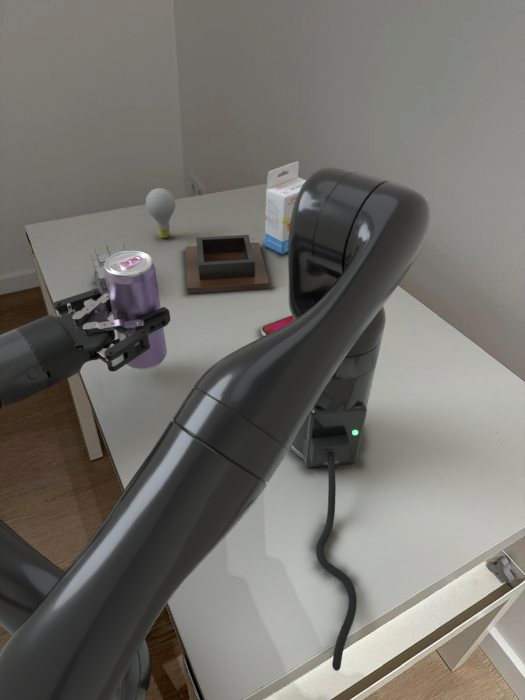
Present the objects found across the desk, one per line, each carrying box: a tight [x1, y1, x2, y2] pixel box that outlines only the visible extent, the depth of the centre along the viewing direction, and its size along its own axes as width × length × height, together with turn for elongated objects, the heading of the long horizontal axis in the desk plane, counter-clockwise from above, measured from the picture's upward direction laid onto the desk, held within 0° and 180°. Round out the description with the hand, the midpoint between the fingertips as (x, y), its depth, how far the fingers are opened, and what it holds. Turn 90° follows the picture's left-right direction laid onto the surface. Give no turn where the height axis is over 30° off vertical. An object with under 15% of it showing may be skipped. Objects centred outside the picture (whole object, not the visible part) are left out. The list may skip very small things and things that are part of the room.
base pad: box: [184, 234, 270, 295], centre depth 92 cm, size 14×14×4 cm
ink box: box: [264, 160, 307, 256], centre depth 96 cm, size 8×5×15 cm, turn 134°
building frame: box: [90, 241, 128, 294], centre depth 87 cm, size 6×8×6 cm
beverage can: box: [103, 250, 168, 371], centre depth 66 cm, size 6×6×15 cm
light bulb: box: [145, 187, 176, 239], centre depth 99 cm, size 6×6×10 cm
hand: (153, 302), depth 67 cm, fingers closed on beverage can, 6 cm apart
